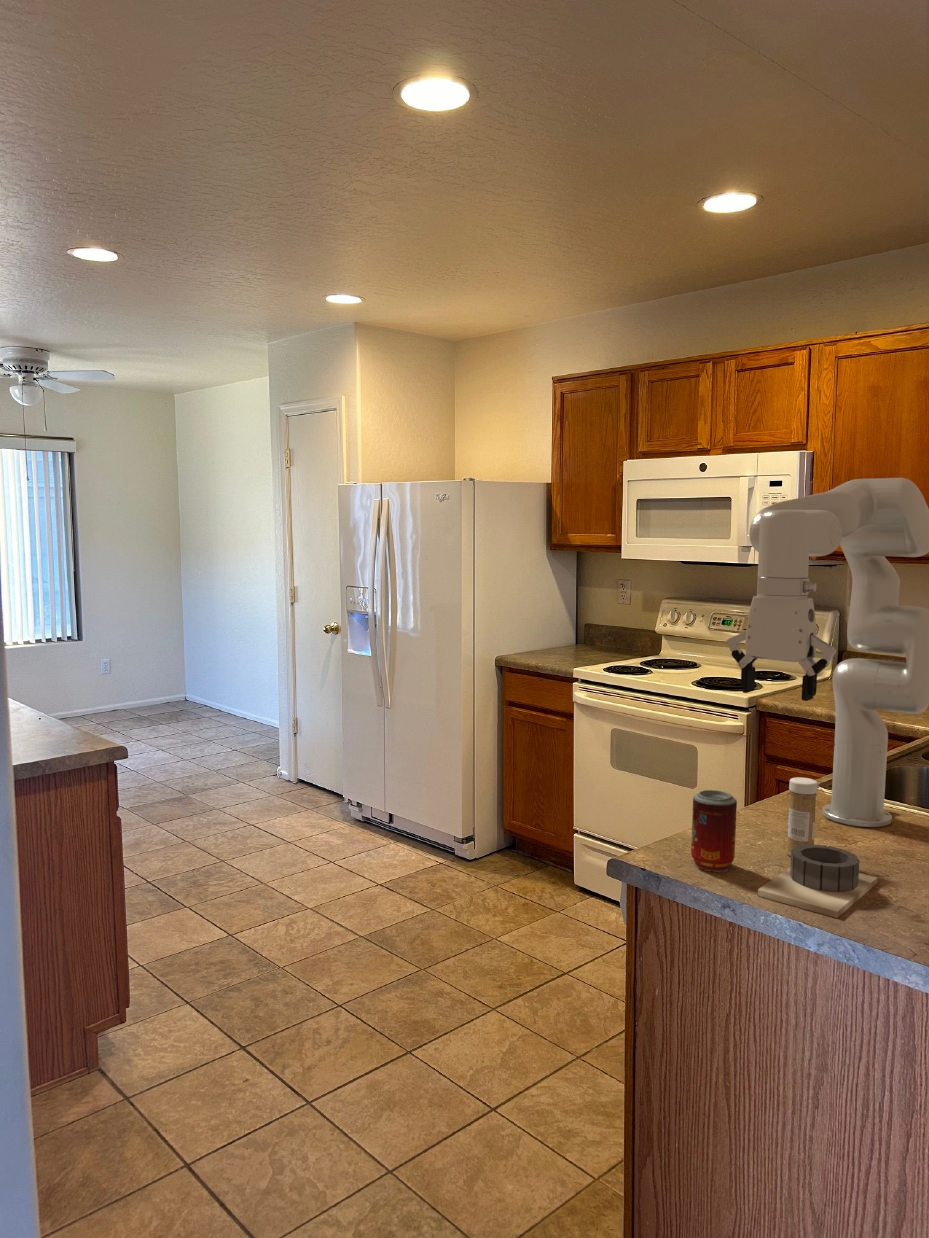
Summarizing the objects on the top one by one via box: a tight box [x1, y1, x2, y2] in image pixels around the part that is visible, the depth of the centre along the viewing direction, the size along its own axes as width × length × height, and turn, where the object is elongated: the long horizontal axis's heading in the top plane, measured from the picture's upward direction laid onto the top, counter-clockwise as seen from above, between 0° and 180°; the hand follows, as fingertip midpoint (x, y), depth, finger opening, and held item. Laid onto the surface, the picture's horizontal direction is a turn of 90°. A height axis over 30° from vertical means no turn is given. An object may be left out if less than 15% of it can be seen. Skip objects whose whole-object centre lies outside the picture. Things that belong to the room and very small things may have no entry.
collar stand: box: [757, 844, 878, 919], centre depth 143 cm, size 18×12×5 cm, turn 139°
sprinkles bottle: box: [786, 776, 819, 857], centre depth 157 cm, size 5×5×14 cm
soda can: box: [690, 789, 738, 873], centre depth 152 cm, size 7×7×12 cm
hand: (777, 695), depth 145 cm, fingers open, 9 cm apart
